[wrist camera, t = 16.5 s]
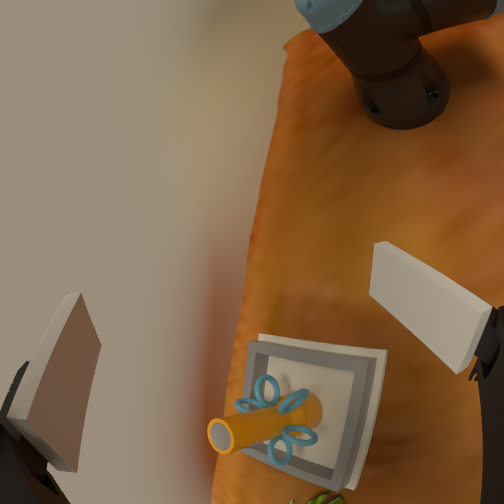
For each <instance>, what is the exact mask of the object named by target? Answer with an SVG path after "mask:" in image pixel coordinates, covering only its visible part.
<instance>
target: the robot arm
mask: <svg viewBox="0 0 504 504" xmlns="http://www.w3.org/2000/svg"><path fill="white" fill-rule="evenodd" d="M294 2H295V6H296V8H297V10H298V11H299V12H300V13H301V15H302V16H303V17H304V18H305V19H306V20H307V22H308V23H309V25H310V27H311V29H312V30H313V31H315V32H316V33H318V34H319V35H320V36H321V38H322V39H323V40H324V41H325V42H326V43H327V44H328V45H329V47H330V48H331V49H332V50H333V51H334V53H335V54H336V55H337V56H338V57H339V59H340V60H341V61H342V62H343V63H344V65H345V66H346V67H347V68H348V70H349V71H350V72H351V74H352V77H353V81H354V85H355V88H356V92H357V96H358V99H359V102H360V104H361V105H362V107H363V108H364V110H365V111H366V112H367V114H368V115H369V116H370V117H371V118H372V119H373V120H374V121H375V122H377V123H379V124H381V125H383V126H386V127H389V128H395V129H409V128H414V127H418V126H421V125H424V124H426V123H428V122H430V121H431V120H433V119H434V118H436V117H437V116H438V115H439V114H440V113H441V112H442V111H443V109H444V108H445V106H446V104H447V101H448V98H449V86H448V82H447V79H446V76H445V74H444V71H443V70H442V68H441V66H440V65H439V64H438V63H437V62H436V60H435V59H434V58H433V57H432V56H431V55H430V54H429V53H428V52H427V50H426V49H425V48H424V47H423V46H422V45H421V43H420V41H419V39H418V37H420V36H423V35H426V34H429V33H432V32H436V31H439V30H443V29H446V28H450V27H454V26H458V25H462V24H466V23H470V22H474V21H479V20H486V19H489V18H491V17H492V16H495V15H499V14H501V13H503V12H504V0H294ZM369 295H370V296H371V297H373V298H374V299H375V300H376V301H377V302H378V303H379V304H381V305H382V306H383V307H384V308H385V309H386V310H387V311H389V312H390V313H391V314H392V315H393V316H394V317H395V318H396V319H398V320H399V321H400V322H401V323H402V324H403V325H404V326H405V327H406V328H408V329H409V330H410V331H411V332H412V333H413V334H414V335H415V336H416V337H417V338H418V339H420V340H421V341H422V342H423V343H424V344H425V345H426V346H427V347H428V348H429V349H430V350H431V351H433V352H434V353H435V354H436V355H437V356H438V357H439V358H440V359H441V360H442V361H443V362H444V363H445V364H446V365H447V366H448V367H449V368H451V369H452V370H453V371H454V372H455V373H456V374H458V373H460V372H461V371H462V370H464V369H465V368H467V367H468V366H469V364H470V362H471V360H472V357H473V355H476V356H477V357H478V359H477V361H476V363H475V366H474V368H473V370H472V372H471V374H470V376H469V381H471V379H472V377H473V376H474V374H476V373H477V375H476V377H475V379H474V381H478V386H479V395H480V404H481V415H482V432H483V475H482V491H481V501H480V504H504V306H501V307H499V309H498V310H497V309H496V308H494V307H493V306H491V305H490V304H488V303H487V302H485V301H484V300H482V299H481V298H479V297H478V296H476V295H475V294H473V293H472V292H470V291H469V290H467V289H466V288H464V287H463V286H461V285H460V284H458V283H456V282H454V281H453V280H451V279H449V278H448V277H446V276H445V275H443V274H441V273H440V272H438V271H437V270H435V269H433V268H432V267H430V266H428V265H427V264H425V263H423V262H422V261H420V260H418V259H417V258H415V257H413V256H411V255H410V254H408V253H406V252H404V251H403V250H401V249H399V248H397V247H396V246H394V245H392V244H390V243H389V242H387V241H385V242H380V243H374V252H373V263H372V272H371V281H370V289H369ZM100 349H101V343H100V341H99V338H98V336H97V333H96V331H95V328H94V326H93V323H92V321H91V318H90V316H89V313H88V311H87V308H86V305H85V303H84V299H83V297H82V294H81V293H74V294H67V295H65V297H64V299H63V301H62V302H61V304H60V306H59V307H58V309H57V311H56V313H55V314H54V316H53V318H52V320H51V322H50V323H49V325H48V327H47V329H46V331H45V333H44V334H43V337H42V338H41V340H40V342H39V344H38V346H37V348H36V350H35V352H34V354H33V357H32V358H31V360H30V361H29V362H28V361H26V362H25V363H24V365H23V366H22V367H21V368H20V369H19V370H18V371H17V374H16V376H15V378H14V380H13V383H12V384H11V387H10V389H9V391H10V392H8V393H7V396H6V398H5V401H4V403H3V405H2V408H1V411H0V504H70V502H69V501H68V499H67V498H66V497H65V495H64V494H63V492H62V491H61V489H60V488H59V486H58V484H57V483H56V481H55V480H54V478H53V476H52V475H51V474H50V473H49V472H48V471H47V470H46V469H47V463H48V462H49V463H50V464H51V465H52V466H53V467H54V468H56V469H57V470H59V471H66V472H77V470H78V461H79V452H80V446H81V439H82V432H83V426H84V421H85V415H86V410H87V404H88V400H89V395H90V390H91V386H92V381H93V377H94V373H95V369H96V364H97V360H98V357H99V353H100Z"/></svg>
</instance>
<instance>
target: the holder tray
mask: <svg viewBox="0 0 504 504" xmlns="http://www.w3.org/2000/svg"><path fill="white" fill-rule="evenodd" d="M387 355H388V350H386V349H375V348H365V347H356V346H347V345H338V344H330V343H323V342H316V341H308V340H302V339H295V338H289V337H282V336H276V335H270V334H265V333H259V337H258V340H249V348H248V356H247V364H246V372H245V380H244V389H243V397H242V398H250V399H255V400H257V399H256V396H255V393H254V386H255V382H256V380H257V379H258V377H260V376H261V375H264V374H268V375H271V376H272V377H274V378H275V379H276V381H277V382H278V384H279V387H280V396H282V395H286V394H290V393H293V392H295V391H297V390H299V389H303V388H305V389H308V391H309V393H311V394H313V395H314V396H315V397H316V398H317V399H318V400H319V402H320V404H321V407H322V417H321V420H320V422H319V424H318V425H317V426H316V427H315V428H314V429H312V430H313V431H315V432H316V433H317V435H318V441H317V442H316V443H315V444H314V445H311V446H299V445H295V444H292V443H291V444H292V449H293V451H292V457H291V459H290V461H289V462H288V463H287V464H286V465H284V466H276V465H274V464H272V463H271V462H270V460H269V458H268V454H267V448H268V444H269V442H270V440H271V439H270V440H267V441H264V442H262V443H260V444H259V445H257V446H255V447H252V448H248V449H246V448H244V449H241V450H239V451H241V452H243V453H245V454H247V455H249V456H251V457H253V458H255V459H257V460H259V461H261V462H263V463H265V464H268V465H270V466H272V467H274V468H276V469H279V470H281V471H283V472H285V473H288V474H290V475H293V476H295V477H297V478H300V479H302V480H305V481H308V482H310V483H313V484H316V485H318V486H321V487H324V488H327V489H330V490H333V491H336V492H340V491H341V490H342V489H343V488H348V489H351V490H355V489H356V488H357V486H358V483H359V480H360V476H361V473H362V470H363V467H364V463H365V460H366V456H367V453H368V449H369V446H370V442H371V438H372V434H373V430H374V425H375V421H376V417H377V412H378V407H379V402H380V397H381V392H382V387H383V381H384V375H385V369H386V362H387ZM261 393H262V396H263V398H264V399H265V400H266V401H271V400H272V399H273V397H274V389H273V386H272V384H271V383H270V382H269V381H267V380H265V381H263V382H262V385H261ZM242 406H243V407H245V408H247V409H250V410H257V409H260V408H259V407H257V406H255V405H252V404H242ZM241 413H242V412H241ZM295 438H298V439H303V440H309V439H311V437H310V436H309V435H308V434H306V433H303V434H301V435H299V436H297V437H295ZM274 455H275V457H276V459H277V460H279V461H281V460H283V459H284V457H285V455H286V446H285V443H284V442H283V441H281V440H279V441H277V443H276V444H275V447H274Z"/></svg>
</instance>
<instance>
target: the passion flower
mask: <svg viewBox="0 0 504 504" xmlns="http://www.w3.org/2000/svg"><path fill="white" fill-rule="evenodd" d="M329 494H330V493H327V494H322V495H320V496H317V497H315V498H314V499H312V500H310V501H309V502H308V503H307V504H322V503H324V501H325V499H326V498H327V497H328V495H329ZM341 497H342V496H341V495H339V496H338V497H337V498H335V499H333V500H331V501H330V502H328V503H327V504H343V502H344V500H343V499H342V498H341ZM293 503H295V501H294V500H292V501H291V502H290V503H289V504H293Z"/></svg>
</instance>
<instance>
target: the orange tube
mask: <svg viewBox="0 0 504 504" xmlns="http://www.w3.org/2000/svg"><path fill="white" fill-rule="evenodd" d="M265 380H267V381H269V382H270V383H271V384H272V386H273V389H274V397H273V399H272V400H271V401H266V400H265V399H264V398H263V396H262V393H261V385H262V382H263V381H265ZM254 393H255V396H256V399H257V400H255V399H250V398H240V399H238V400H236V401H235V407H236V409H237V410H238V411H240V412H242V413H240V414H235V415H231V416H226V417H221V418H216V419H213V420H211V422H210V424H209V425H208V438H209V441H210V443H211V445H212V447H213V448H214V449H215V450H216V451H217V452H219V453H221V454H228V453H231V452H235V451H238V450H241V449H244V448H246V449H248V448H252V447H255V446H257V445H259V444H260V443H262V442H264V441H267V440H270V439H271V440H270V442H269V444H268V448H267V454H268V458H269V460H270V462H271V463H272V464H274V465H276V466H284V465H286V464H287V463H288V462H289V461H290V459H291V457H292V451H293V449H292V444H295V445H299V446H311V445H314V444H315V443H316V442H317V441H318V435H317V433H316V432H315V431H313V430H312V429H314V428H315V427H316V426H317V425H318V424H319V422H320V420H321V417H322V407H321V404H320V402H319V400H318V399H317V398H316V397H315V396H314V395H313V394H311V393H309V391H308V389H305V388H303V389H299V390H297V391H295V392H293V393H290V394H286V395H282V396H280V387H279V384H278V382H277V381H276V379H275V378H274V377H272V376H271V375H268V374H264V375H261V376H260V377H258V379H257V380H256V382H255V386H254ZM241 404H252V405H255V406H257V407H259V408H260V409H257V410H250V409H247V408H245V407H243V406H242V405H241ZM303 433H306V434H308V435H309V436H310V437H311V439H309V440H303V439H298V438H295V437H297V436H299V435H301V434H303ZM279 440H281V441H283V442H284V443H285V446H286V455H285V457H284V459H283V460H281V461H279V460H277V459H276V457H275V455H274V447H275V444H276V443H277V441H279ZM291 443H292V444H291Z"/></svg>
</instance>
